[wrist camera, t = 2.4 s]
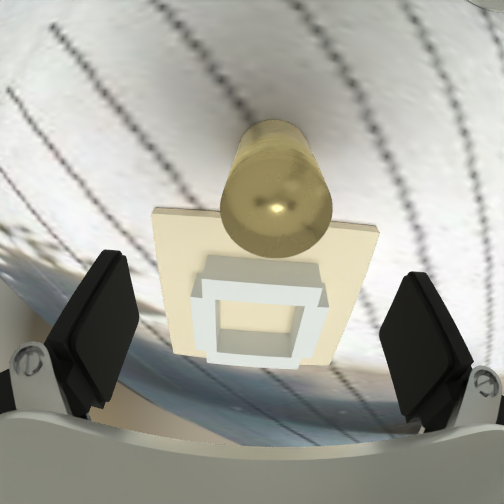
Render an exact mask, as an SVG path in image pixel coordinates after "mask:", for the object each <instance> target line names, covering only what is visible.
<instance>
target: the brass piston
mask: <svg viewBox="0 0 504 504" xmlns="http://www.w3.org/2000/svg"><path fill="white" fill-rule="evenodd" d="M220 215H221V220H222V223H223V226H224V228H225V230H226V232H227V234H228V235H229V236H230V238H231V239H232V240H233V241H234V242H235V243H236V244H237V245H238V246H240V247H241V248H243V249H244V250H246V251H248V252H250V253H252V254H254V255H257V256H261V257H266V258H286V257H292V256H295V255H298V254H300V253H303V252H305V251H306V250H308V249H310V248H311V247H313V246H314V245H315V244H316V243H317V242H318V241H319V240H320V239H321V238H322V237H323V236H324V234H325V232H326V231H327V229H328V227H329V225H330V221H331V218H332V199H331V195H330V192H329V190H328V187H327V185H326V183H325V180H324V178H323V176H322V174H321V171H320V169H319V167H318V164H317V162H316V160H315V158H314V156H313V153H312V151H311V149H310V147H309V145H308V143H307V141H306V139H305V137H304V135H303V134H302V132H301V131H300V130H299V129H298V128H296V127H295V126H294V125H292V124H290V123H288V122H286V121H282V120H274V119H272V120H265V121H261V122H259V123H256V124H255V125H253V126H252V127H250V128H249V129H248V130H247V131H246V132H245V133H244V135H243V137H242V138H241V141H240V143H239V146H238V149H237V152H236V155H235V158H234V161H233V164H232V167H231V170H230V173H229V176H228V179H227V182H226V185H225V188H224V191H223V194H222V198H221V203H220Z"/></svg>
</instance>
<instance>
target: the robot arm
mask: <svg viewBox="0 0 504 504" xmlns="http://www.w3.org/2000/svg"><path fill="white" fill-rule="evenodd" d="M468 1H470V2H472V3H473V4H475V5H477V6H479V7H481V8H484V9H486V10H489V11H493V12H498V13H499V12H502V13H504V0H468ZM138 322H139V312H138V308H137V304H136V299H135V295H134V291H133V286H132V282H131V277H130V273H129V268H128V263H127V258H126V256H124V255H122V253H121V251H117V250H103V251H102V252H101V254H100V255H99V256H98V258H97V259H96V261H95V262H94V264H93V265H92V266H91V268H90V269H89V271H88V272H87V274H86V275H85V277H84V278H83V280H82V281H81V283H80V284H79V286H78V287H77V289H76V291H75V292H74V294H73V295H72V297H71V298H70V300H69V302H68V303H67V305H66V306H65V308H64V310H63V311H62V313H61V315H60V316H59V318H58V320H57V321H56V323H55V325H54V326H53V328H52V330H51V332H50V334H49V335H48V337H47V339H46V341H45V343H44V345H43V344H41V343H39V342H28V343H25V344H23V345H21V346H19V347H18V348H17V349H16V350H15V351H14V353H13V354H12V356H11V358H10V361H9V369H7V370H5V371H3V372H1V373H0V504H504V396H503V395H502V384H501V381H500V379H499V377H498V375H497V374H496V373H495V372H494V371H493V370H492V369H490V368H488V367H486V366H477V367H475V368H474V369H473V370H472V367H471V364H472V363H473V362H474V361H473V359H472V356H471V354H470V352H469V350H468V348H467V346H466V344H465V342H464V340H463V338H462V336H461V334H460V332H459V330H458V328H457V326H456V324H455V322H454V321H453V319H452V317H451V315H450V313H449V311H448V310H447V308H446V306H445V304H444V302H443V301H442V299H441V297H440V295H439V294H438V292H437V290H436V288H435V287H434V285H433V283H432V282H431V280H430V278H429V277H428V275H427V274H426V273H424V272H409V273H408V275H406V276H404V278H403V280H402V282H401V284H400V287H399V289H398V291H397V294H396V296H395V298H394V300H393V303H392V305H391V307H390V309H389V311H388V313H387V316H386V318H385V320H384V322H383V324H382V326H381V328H380V332H379V338H380V341H381V344H382V348H383V351H384V354H385V357H386V361H387V364H388V367H389V371H390V374H391V378H392V381H393V385H394V388H395V392H396V396H397V399H398V403H399V407H400V411H401V414H402V415H403V416H405V418H406V422H407V423H411V422H417V421H420V420H421V422H422V427H421V429H420V431H419V433H418V435H413V436H407V437H401V438H395V439H389V440H382V441H375V442H367V443H358V444H347V445H334V446H317V447H253V446H236V445H222V444H211V443H202V442H194V441H187V440H180V439H173V438H167V437H161V436H156V435H150V434H145V433H140V432H136V431H131V430H126V429H122V428H117V427H113V426H108V425H105V424H101V423H97V422H93V421H91V419H90V416H89V414H88V412H89V410H90V408H91V406H94V407H97V408H101V409H103V408H104V405H105V402H109V401H110V400H111V397H112V394H113V391H114V388H115V385H116V382H117V379H118V377H119V374H120V371H121V368H122V365H123V362H124V360H125V357H126V354H127V352H128V349H129V346H130V343H131V341H132V338H133V336H134V333H135V330H136V328H137V325H138Z"/></svg>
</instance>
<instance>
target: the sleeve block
mask: <svg viewBox="0 0 504 504" xmlns="http://www.w3.org/2000/svg"><path fill="white" fill-rule="evenodd" d="M151 217H152V226H153V234H154V242H155V249H156V256H157V263H158V270H159V276H160V283H161V289H162V295H163V301H164V306H165V312H166V317H167V322H168V327H169V332H170V337H171V342H172V347H173V352H174V354H181V355H189V356H197V357H205V358H207V363H215V364H224V365H235V366H247V367H261V368H278V369H298V367H299V365H329V364H330V362H331V360H332V358H333V355H334V353H335V351H336V349H337V346H338V344H339V342H340V339H341V337H342V335H343V332H344V330H345V327H346V325H347V323H348V320H349V318H350V315H351V313H352V310H353V308H354V305H355V302H356V300H357V297H358V295H359V292H360V289H361V287H362V284H363V281H364V278H365V276H366V273H367V270H368V267H369V264H370V261H371V258H372V255H373V252H374V249H375V246H376V243H377V240H378V237H379V234H380V232H379V230H378V229H377V227H376V226H369V225H360V224H351V223H342V222H332V221H330V225H329V227H328V229H327V231H326V232H325V234H324V236H323V237H322V238H321V239H320V240H319V241H318V242H317V243H316V244H315V245H314V246H313V247H311V248H310V249H308V250H306V251H305V252H303V253H300V254H298V255H295V256H292V257H286V258H266V257H261V256H257V255H254V254H252V253H250V252H248V251H246V250H244V249H243V248H241V247H240V246H238V245H237V244H236V243H235V242H234V241H233V240H232V239H231V238H230V236H229V235H228V234H227V232H226V230H225V228H224V226H223V223H222V220H221V215H220V212H217V211H202V210H187V209H169V208H155V209H154V210H153V212H152V213H151Z"/></svg>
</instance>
